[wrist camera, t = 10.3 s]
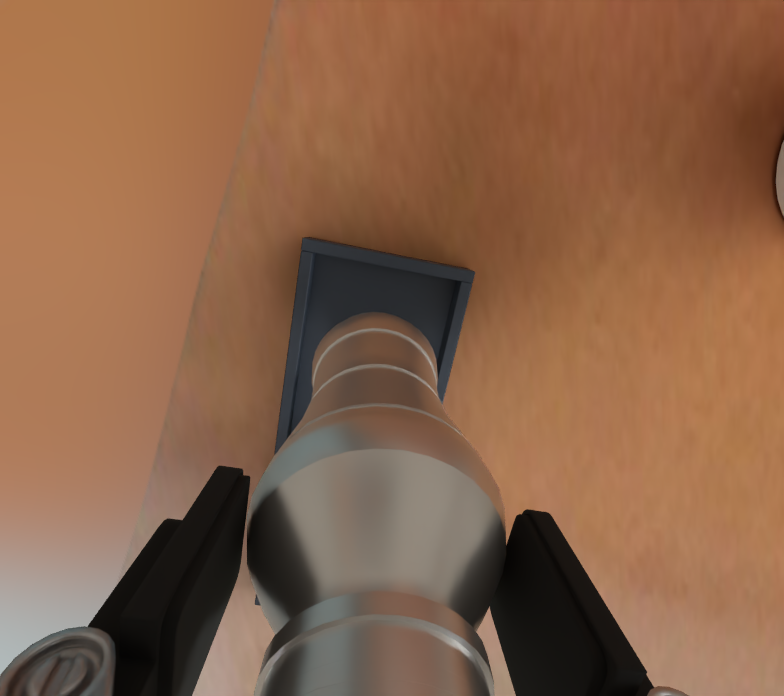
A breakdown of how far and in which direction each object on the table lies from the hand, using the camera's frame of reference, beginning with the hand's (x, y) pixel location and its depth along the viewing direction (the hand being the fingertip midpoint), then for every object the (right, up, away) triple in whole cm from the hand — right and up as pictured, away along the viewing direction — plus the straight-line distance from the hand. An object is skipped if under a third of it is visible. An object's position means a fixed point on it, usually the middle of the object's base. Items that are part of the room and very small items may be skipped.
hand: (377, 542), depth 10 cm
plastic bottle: (-1, +4, +15) cm, 15 cm away
